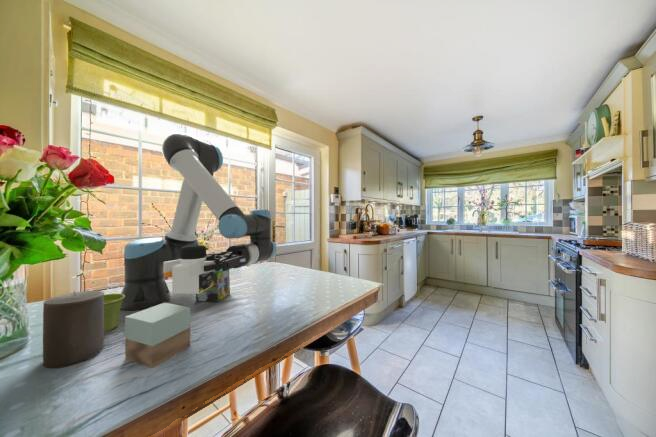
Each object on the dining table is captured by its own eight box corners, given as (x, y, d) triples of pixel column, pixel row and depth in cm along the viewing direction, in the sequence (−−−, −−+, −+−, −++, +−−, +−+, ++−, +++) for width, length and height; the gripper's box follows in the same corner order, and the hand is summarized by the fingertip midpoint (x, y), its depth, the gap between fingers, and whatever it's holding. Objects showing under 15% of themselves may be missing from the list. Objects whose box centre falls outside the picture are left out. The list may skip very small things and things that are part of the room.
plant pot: (121, 318, 74) (121, 291, 74) (128, 327, 68) (128, 298, 68) (78, 329, 67) (77, 299, 67) (81, 341, 61) (81, 308, 61)
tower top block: (125, 338, 53) (124, 316, 53) (164, 321, 62) (164, 302, 62) (152, 346, 50) (152, 323, 50) (190, 327, 59) (190, 307, 59)
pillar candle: (48, 374, 48) (48, 301, 48) (38, 358, 53) (38, 292, 53) (110, 351, 57) (111, 289, 56) (96, 339, 62) (97, 282, 61)
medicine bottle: (199, 294, 60) (199, 247, 60) (171, 294, 60) (171, 247, 60) (213, 285, 67) (213, 243, 67) (188, 285, 67) (188, 243, 67)
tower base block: (125, 360, 53) (125, 338, 53) (164, 340, 62) (164, 321, 62) (153, 369, 50) (153, 346, 50) (190, 346, 59) (190, 327, 59)
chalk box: (230, 294, 97) (230, 258, 96) (217, 302, 88) (217, 263, 87) (209, 293, 98) (209, 257, 97) (194, 301, 88) (194, 262, 88)
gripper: (268, 269, 76) (208, 289, 55) (218, 263, 84) (150, 279, 64) (268, 245, 76) (208, 257, 55) (218, 242, 84) (149, 251, 63)
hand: (177, 269), depth 59 cm, fingers closed on medicine bottle, 9 cm apart
